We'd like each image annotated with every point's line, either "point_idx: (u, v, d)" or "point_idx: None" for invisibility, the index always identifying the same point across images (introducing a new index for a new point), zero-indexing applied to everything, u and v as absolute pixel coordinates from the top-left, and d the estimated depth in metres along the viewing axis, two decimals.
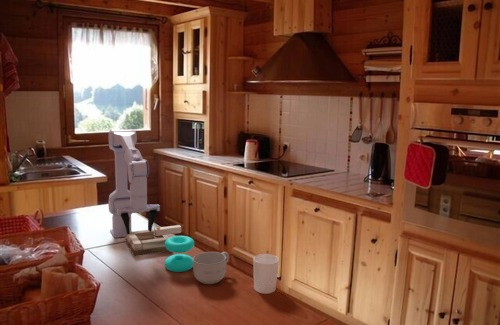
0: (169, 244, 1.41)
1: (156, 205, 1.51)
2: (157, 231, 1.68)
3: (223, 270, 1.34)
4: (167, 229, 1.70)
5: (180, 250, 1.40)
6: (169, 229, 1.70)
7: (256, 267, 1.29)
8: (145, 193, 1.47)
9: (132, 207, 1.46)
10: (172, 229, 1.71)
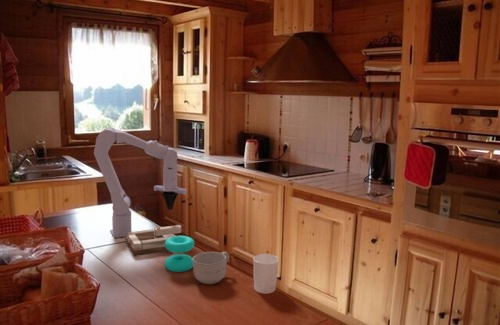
0: (169, 244, 1.41)
1: (183, 189, 1.74)
2: (157, 231, 1.68)
3: (223, 270, 1.34)
4: (167, 229, 1.70)
5: (180, 250, 1.40)
6: (169, 229, 1.70)
7: (256, 267, 1.29)
8: None
9: (163, 186, 1.75)
10: (172, 229, 1.71)
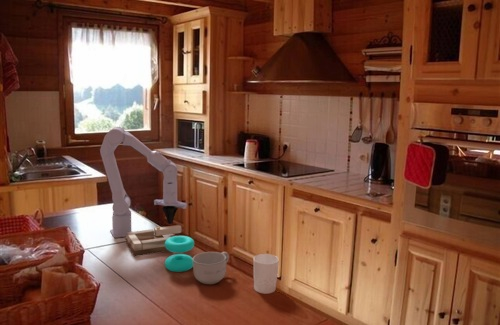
0: (169, 244, 1.41)
1: (183, 203, 1.75)
2: (157, 231, 1.68)
3: (223, 270, 1.34)
4: (167, 229, 1.70)
5: (180, 250, 1.40)
6: (169, 229, 1.70)
7: (256, 267, 1.29)
8: None
9: (163, 200, 1.76)
10: (172, 229, 1.71)
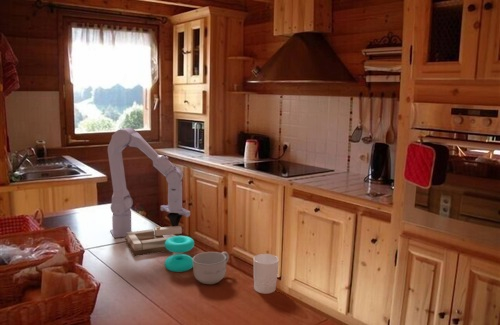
0: (169, 244, 1.41)
1: (186, 211, 1.70)
2: (157, 231, 1.68)
3: (223, 270, 1.34)
4: (167, 229, 1.70)
5: (180, 250, 1.40)
6: (169, 229, 1.70)
7: (256, 267, 1.29)
8: None
9: None
10: (172, 230, 1.71)
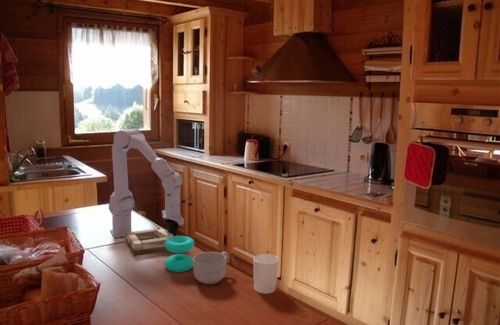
0: (169, 244, 1.41)
1: (180, 219, 1.60)
2: (154, 230, 1.69)
3: (223, 270, 1.34)
4: (159, 232, 1.66)
5: (180, 250, 1.40)
6: (160, 233, 1.66)
7: (256, 267, 1.29)
8: None
9: None
10: (162, 234, 1.65)
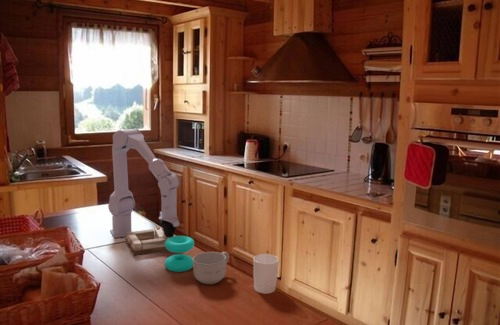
0: (169, 244, 1.41)
1: (175, 221, 1.58)
2: None
3: (223, 270, 1.34)
4: (156, 232, 1.66)
5: (180, 250, 1.40)
6: (156, 233, 1.65)
7: (256, 267, 1.29)
8: None
9: None
10: (157, 235, 1.64)
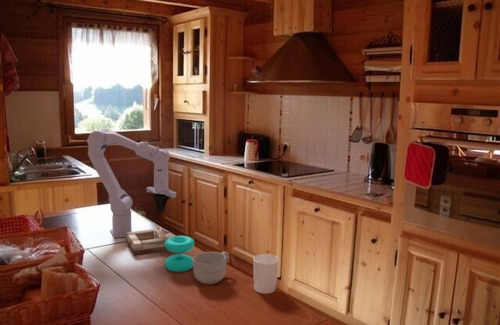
0: (169, 244, 1.41)
1: (172, 192, 1.68)
2: None
3: (223, 270, 1.34)
4: (156, 232, 1.66)
5: (180, 250, 1.40)
6: (157, 233, 1.65)
7: (256, 267, 1.29)
8: None
9: None
10: (157, 235, 1.64)
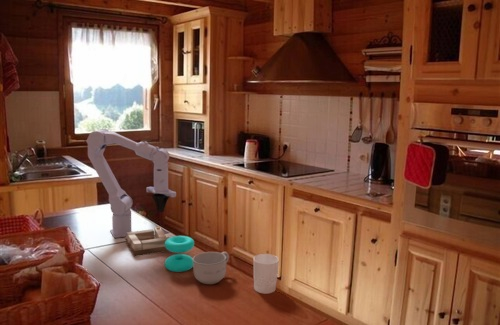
0: (169, 244, 1.41)
1: (172, 192, 1.69)
2: None
3: (223, 270, 1.34)
4: (156, 232, 1.66)
5: (180, 250, 1.40)
6: (157, 233, 1.65)
7: (256, 267, 1.29)
8: None
9: None
10: (157, 235, 1.64)
